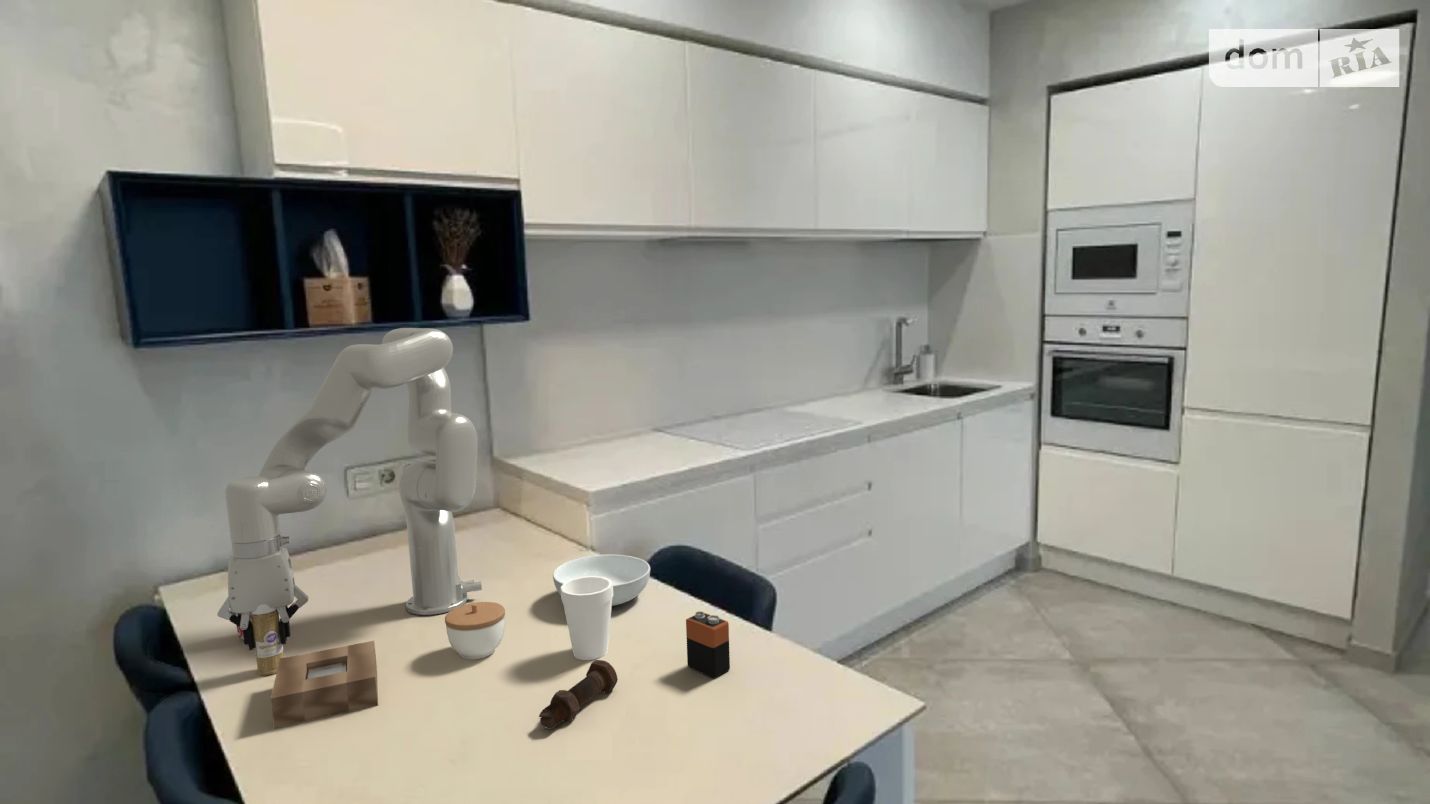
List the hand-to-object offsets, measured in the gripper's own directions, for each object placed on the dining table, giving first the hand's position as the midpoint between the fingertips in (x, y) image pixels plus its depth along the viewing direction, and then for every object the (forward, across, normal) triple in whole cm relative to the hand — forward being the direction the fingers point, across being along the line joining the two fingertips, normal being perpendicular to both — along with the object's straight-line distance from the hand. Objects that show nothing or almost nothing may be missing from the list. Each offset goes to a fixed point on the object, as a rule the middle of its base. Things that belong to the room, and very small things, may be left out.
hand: (268, 643), depth 141 cm
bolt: (+6, -47, +38) cm, 61 cm away
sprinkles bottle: (+5, 0, 0) cm, 5 cm away
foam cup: (+5, -54, +20) cm, 58 cm away
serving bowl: (+5, -63, -4) cm, 64 cm away
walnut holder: (+5, -10, +15) cm, 19 cm away
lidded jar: (+5, -35, +10) cm, 37 cm away
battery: (+5, -71, +36) cm, 80 cm away
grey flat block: (+3, -10, +15) cm, 18 cm away
